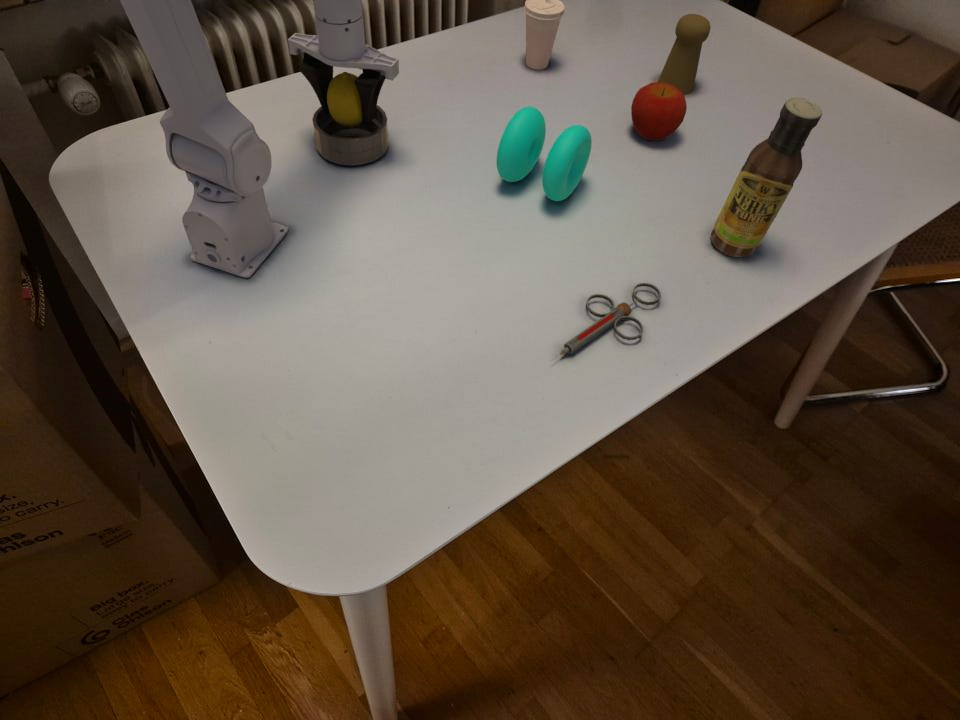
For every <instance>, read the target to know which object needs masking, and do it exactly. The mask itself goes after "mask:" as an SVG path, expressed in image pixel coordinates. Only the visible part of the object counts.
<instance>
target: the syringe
mask: <svg viewBox="0 0 960 720" xmlns="http://www.w3.org/2000/svg"><path fill="white" fill-rule="evenodd" d="M640 287H648V288H651V290H654V292H656V294H657V297H658V298H657V299H655V300H654V301H646V300H643V299H641V298H640V297H639V296H638V295H637V294H636V292H635V290H636V289H638V288H640ZM661 297H662V293H661V290H660V289H659V288H658V287H657V286H656V285H654V284H653V283H649V282H640V283H636V285H635V286H634V288H633V290H632V298H633V299H634V301H633V302H632V303H630V304H628V303H627V302H625V301H623V302H621V303H619V304H617V306H615V302H614V300H613V299H612V298H611V297H610V296H607V295H605V294H601V293H595V294H591V295H590V296H589V297H588V298H587V300H586V303H585V308H586V310H587V311H588V313H589V314H591V315H592V316H594V317H597V318H600V319H598V320H597V321H596V322H594V323H592V324H591V325H590V326H588V327H587V328H585V329H584V330H582V331H581V332H580V333H578V334H577V335H575V336H574V337H572V338H571V339H570V340H568V341H566V342H565V343H564V344H563V349H562V350H561V352H560V353H559V355H557V356H555V357H554V358H552V359H551V360H550V362H552V361H553V360H555V359H556V358H558V357H559V356H561V355H565V354H569V355H572V354H574V353H575V352H576V351H578V350H579V349H580V348H582V347H583V346H585V345H586V344H588V343H589V342H590V341H592V340H594V339H595V338H596V337H598V336H599V335H600V334H602V333H604V332H605V331H606V330H608V329H609V328H611V327H613V331H614V333H615V334H616V335H617V336H618V337H619V338H621V339H623V340H626V341H634V340H638V339H639V338H641V336H642V334H643V332H644V326H643V324H642V322H641V321H640V320H639V319H637V318H636V317H634V316H630V315H631V313H632V306H633V305H634V304H636V303H639V304H641V305H645V306H654V305H656V304H658V303H659V302H660V300H661ZM597 298H598V299H603V300H606V301H608V302H609V303H610V305H611V308H612V309H611V311H609V312H607V313H599V312H596V311H595V310H593V309H592V308H591V307H590V306H589V302H590V301H591V300H592V299H597ZM622 320H625V321H626V320H627V321H628V320H629V321H632V322H634V323H636V325H637V326H639V329H640V333H639V334H637V335H635V336H628V335H625V334H623V333H622V332H620V331H619V330H618V328H617V324H618V322H620V321H622Z"/></svg>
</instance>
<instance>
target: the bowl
mask: <svg viewBox="0 0 960 720" xmlns="http://www.w3.org/2000/svg"><path fill="white" fill-rule="evenodd" d="M311 120H312V126H313V133H314V140H315V145H316V150H317V152H318V153H319V154H320V155H321V156H322V158H324V159H325V160H327V161H329V162H331V163H333V164H338V165H340V166H361V165H367V164H369V163H372V162H375V161H376V160H378V159H379V158H382V157H383V155H384V154H385V153H386V152H387V150H388V147H389V129H388V127H389V125H388V117H387V114H386V111H385V110H384V109H383V108H382V107H381V106H380V105H378V104H377V105H376V111H375V118H374V119H373V120H372V121H371V122H370V124H368V125H367V124H364V123H363V122H362V123H361V124H359V125H357V126H354V127H353V128H349V127H346V126H343V125H341V124H339V123H338V122H336V121H335V120H334V118H333V117H332V115H331V114H330V112H329V113H324V111H323V109H322V106H321V105H320V106H319V108H318V109H317V110H316V111H315V112H314V113H313V116H312V119H311Z"/></svg>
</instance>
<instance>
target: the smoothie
mask: <svg viewBox="0 0 960 720" xmlns="http://www.w3.org/2000/svg"><path fill="white" fill-rule="evenodd" d="M523 10H524V11H523V12H524V13H525V64H526V66H527V67H528V68H530V69H533V70H538V71H539V70H540V71H541V70H544V69H547V68H548V66H549V63H550V60H551V55H552V51H553V48H554V45H555V41H556V38H557V33H558V30H559V27H560V23H561V19H562V17H563V16H564V15H565V4H564V3H563V1H562V0H525V1H524V7H523Z"/></svg>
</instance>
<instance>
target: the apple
mask: <svg viewBox="0 0 960 720" xmlns="http://www.w3.org/2000/svg"><path fill="white" fill-rule="evenodd" d="M687 106H688V105H687V100H686V97H685V95H683V94H682V92H681V91H680V90H679V89H677V88H676V87H674V86H672V85H670V84H667V83H662V82H658V81H657V82H650V83H648V84H646V85H644V86H642V87H640V88H639V89H638V91H637V92H636V93H635V95H634V97H633V100H632V104H631V107H630V109H631V110H630V111H631V112H630V113H631V121H632V126H633V128H634V130H635V132H636V133H637V134H638V135H639V136H640V137H642V138H643V139H644V140H648V141H660V140H665V139H667V138H668V137H670V136H671V135H672V134H673V133H675V132H676V131H677V130H678V128H679V127H680V126H681V125H682V123H683V122H684V119H685V116H686V114H687V109H688V108H687Z"/></svg>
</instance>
